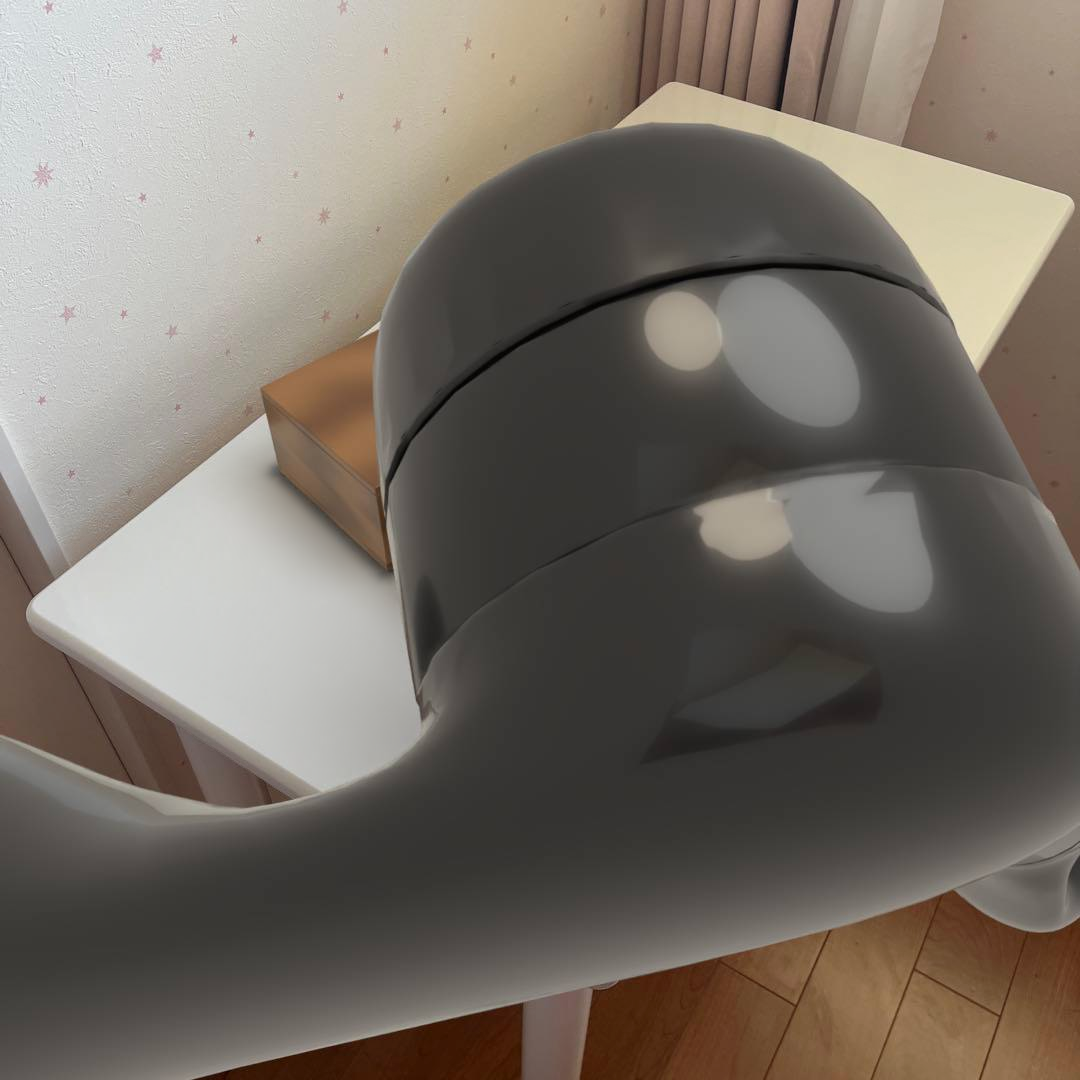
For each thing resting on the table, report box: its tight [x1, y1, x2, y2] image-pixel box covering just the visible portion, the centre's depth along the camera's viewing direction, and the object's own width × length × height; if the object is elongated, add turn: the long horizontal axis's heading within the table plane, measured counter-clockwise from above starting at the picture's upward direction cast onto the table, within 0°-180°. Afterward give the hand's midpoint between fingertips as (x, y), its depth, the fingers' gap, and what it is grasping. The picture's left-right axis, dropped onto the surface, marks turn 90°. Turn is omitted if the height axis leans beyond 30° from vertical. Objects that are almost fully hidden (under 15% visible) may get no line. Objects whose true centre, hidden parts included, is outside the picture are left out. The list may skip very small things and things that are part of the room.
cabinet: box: [259, 328, 394, 573], centre depth 85 cm, size 15×13×9 cm
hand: (485, 377), depth 59 cm, fingers closed on pepper mill, 5 cm apart
